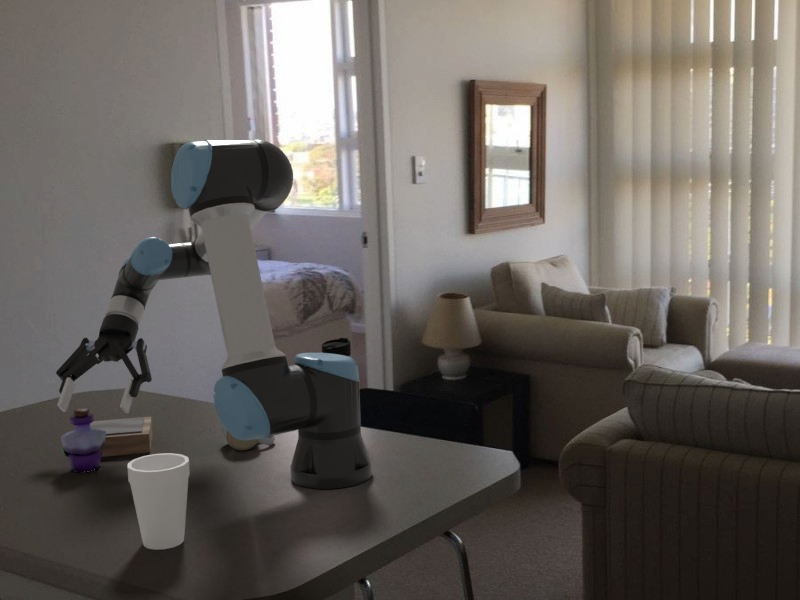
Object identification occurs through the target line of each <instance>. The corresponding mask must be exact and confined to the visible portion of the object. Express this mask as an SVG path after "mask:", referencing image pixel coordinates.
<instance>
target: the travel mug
mask: <svg viewBox="0 0 800 600" xmlns="http://www.w3.org/2000/svg"><path fill="white" fill-rule="evenodd" d="M351 351H352V350H351V341H350V340H349V337H339V338H337V339H335V338H334V339H329V340H326V341H325V342H323V343H322V344H321V353H330V354H338V355H344V356H348V357H351V358H352V354H351Z"/></svg>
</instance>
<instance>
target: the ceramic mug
mask: <svg viewBox="0 0 800 600" xmlns="http://www.w3.org/2000/svg"><path fill="white" fill-rule="evenodd" d="M220 431H221V432H222V435H223V436H224V439H225V441H226V443H227V445H229V446H230V448H232V449H233V450H234V449H235V450H238V451H248V450H250V449H252V448H254V447H255V446H256V445H257V443H259V444H261V445H266V446H271V445H273V444H274V442H275V435H273V436H269V437H266V438H263V439H253V440H247V441H244V440H239V439H237V438H235V437H233V436H232V435H231V434H230V433H229V432H228V431H227V430H226V429H225V427H224V426H223V424H222V422H221V421H220Z"/></svg>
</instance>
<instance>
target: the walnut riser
mask: <svg viewBox="0 0 800 600" xmlns="http://www.w3.org/2000/svg"><path fill="white" fill-rule="evenodd" d="M90 426H91V428H94V429H100V430H103V431H105V432H106V437H105V443H104V447H103V448H102V455H101V458H105V457H114V456H117V457H118V456H127V455H137V454H138V455H139V454H149V453H151V451H152V442H153V436H154V434H153V433H154V432H153V431H154V430H153V429H154V428H153V418H152V416H141V417H130V418H129V417H128V418H127V417H126V418H115V419H114V418H113V419H105V420H102V419H101V420H94V421H93V422H92V423H90Z"/></svg>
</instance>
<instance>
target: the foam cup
mask: <svg viewBox="0 0 800 600" xmlns="http://www.w3.org/2000/svg"><path fill="white" fill-rule="evenodd" d="M190 472H191V471H190V459H189V456H186V455H184V454H181V453H172V452H170V453H169V452H167V453H154V454H149V455H143V456H140V457H137V458H134V459H132V460H131V461H129V462H128V463H127V478H128V479H127V480H128V483H129V485H130V489H131V494H132V499H133V503H134V508H135V512H136V517H137V523H138V526H139V531H140V536H141V541H142V543H143V544H142V545H143V547H145V548H146V549H149V550H156V551H158V550H166V549H168V550H169V549H172V548H176V547H177V546H180V545H181V544H183V543H184V542H185V532H186V531H185V530H186V517H187V505H188V503H187V502H188V501H187V500H188V489H189V477H190V476H191V475H190V474H191V473H190Z"/></svg>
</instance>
